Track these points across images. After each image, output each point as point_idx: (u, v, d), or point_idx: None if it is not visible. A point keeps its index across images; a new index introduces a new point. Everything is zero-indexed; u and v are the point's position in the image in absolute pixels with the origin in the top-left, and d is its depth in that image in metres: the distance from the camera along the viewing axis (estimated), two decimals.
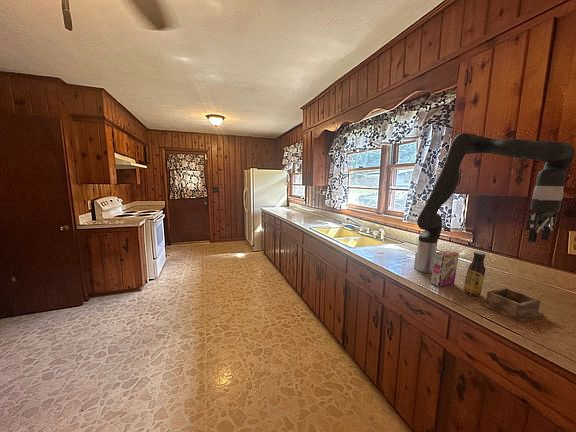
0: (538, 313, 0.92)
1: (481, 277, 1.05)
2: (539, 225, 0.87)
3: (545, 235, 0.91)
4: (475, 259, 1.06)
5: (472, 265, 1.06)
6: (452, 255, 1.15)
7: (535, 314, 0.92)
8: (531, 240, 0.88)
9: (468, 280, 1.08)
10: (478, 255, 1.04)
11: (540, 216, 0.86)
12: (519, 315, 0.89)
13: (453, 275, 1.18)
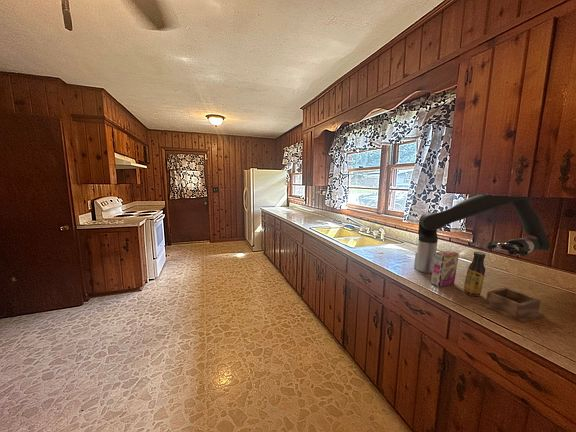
0: (538, 313, 0.92)
1: (481, 277, 1.05)
2: None
3: (491, 247, 1.16)
4: (475, 259, 1.06)
5: (472, 265, 1.06)
6: (452, 255, 1.15)
7: (535, 314, 0.92)
8: (512, 252, 1.07)
9: (468, 280, 1.08)
10: (478, 255, 1.04)
11: None
12: (519, 315, 0.89)
13: (453, 275, 1.18)
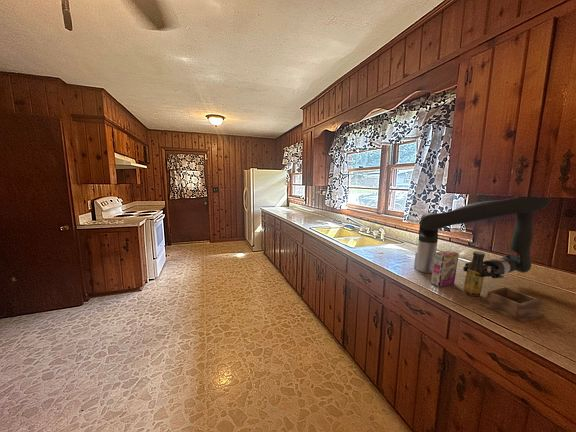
0: (538, 313, 0.92)
1: (481, 277, 1.05)
2: None
3: (467, 268, 1.10)
4: (474, 259, 1.06)
5: (472, 265, 1.07)
6: (452, 255, 1.15)
7: (535, 314, 0.92)
8: (483, 275, 1.03)
9: (467, 280, 1.08)
10: (477, 255, 1.05)
11: None
12: (519, 315, 0.89)
13: (453, 275, 1.18)
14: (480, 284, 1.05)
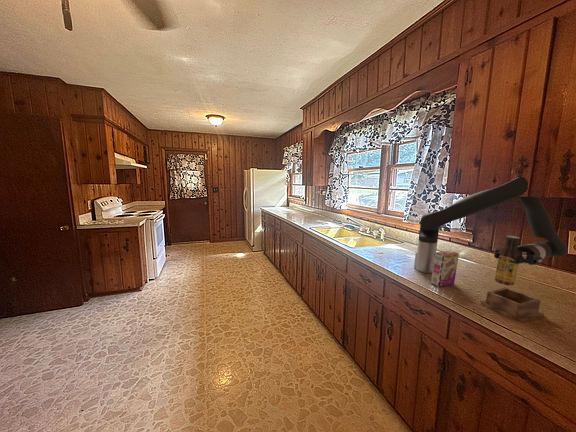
0: (538, 313, 0.92)
1: (516, 264, 0.94)
2: None
3: None
4: (508, 244, 0.95)
5: (505, 251, 0.96)
6: (452, 255, 1.15)
7: (535, 314, 0.92)
8: (519, 261, 0.92)
9: (500, 268, 0.97)
10: (512, 239, 0.94)
11: None
12: (519, 315, 0.89)
13: (453, 275, 1.18)
14: (515, 272, 0.95)
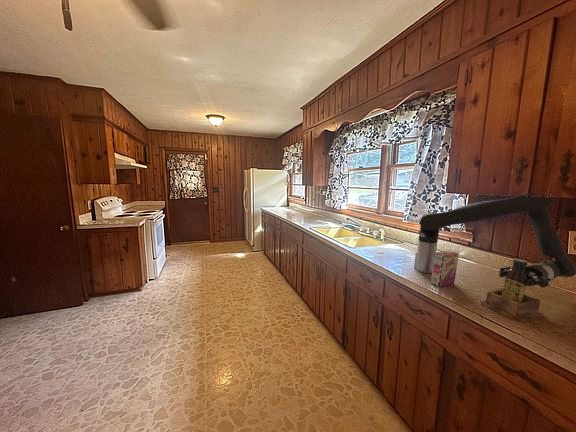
0: (538, 313, 0.92)
1: (522, 288, 0.92)
2: None
3: (504, 274, 0.98)
4: (515, 267, 0.94)
5: (511, 274, 0.94)
6: (452, 255, 1.15)
7: (535, 314, 0.92)
8: (530, 284, 0.90)
9: (506, 291, 0.96)
10: (519, 263, 0.92)
11: (540, 281, 0.94)
12: (519, 315, 0.89)
13: (453, 275, 1.18)
14: (521, 296, 0.93)
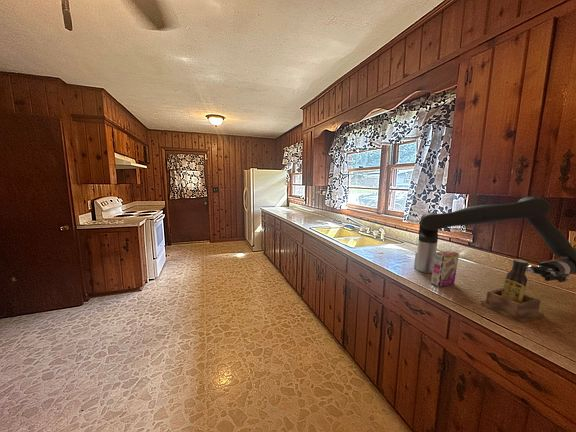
0: (538, 313, 0.92)
1: (522, 288, 0.92)
2: None
3: None
4: (515, 268, 0.93)
5: (511, 274, 0.94)
6: (452, 255, 1.15)
7: (535, 314, 0.92)
8: (549, 279, 0.94)
9: (506, 292, 0.95)
10: (519, 263, 0.92)
11: None
12: (519, 315, 0.89)
13: (453, 275, 1.18)
14: (521, 296, 0.93)
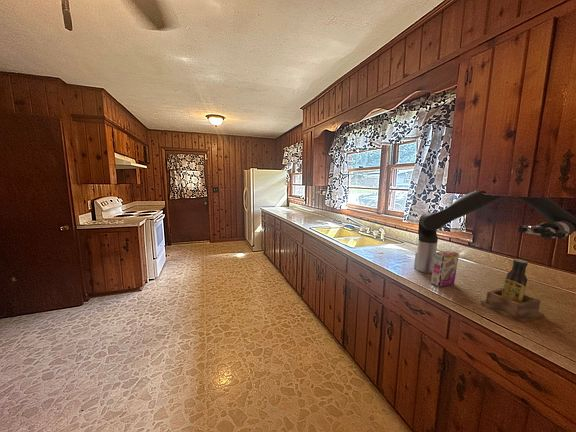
0: (538, 313, 0.92)
1: (522, 288, 0.92)
2: None
3: (523, 230, 1.05)
4: (515, 268, 0.93)
5: (511, 274, 0.94)
6: (452, 255, 1.15)
7: (535, 314, 0.92)
8: (549, 235, 0.96)
9: (506, 292, 0.95)
10: (519, 263, 0.92)
11: None
12: (519, 315, 0.89)
13: (453, 275, 1.18)
14: (521, 296, 0.93)
